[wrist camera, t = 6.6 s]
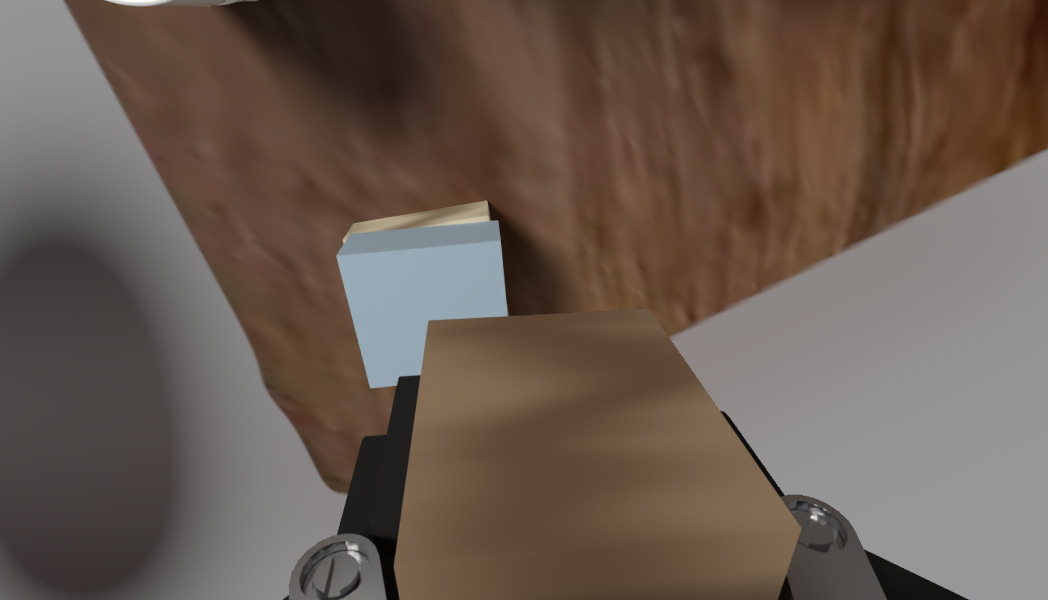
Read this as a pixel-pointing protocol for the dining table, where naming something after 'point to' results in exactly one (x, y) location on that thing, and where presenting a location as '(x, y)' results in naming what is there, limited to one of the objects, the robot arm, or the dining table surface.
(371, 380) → the tower top block
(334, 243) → the dining table surface
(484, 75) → the dining table surface
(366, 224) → the tower base block
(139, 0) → the white cup
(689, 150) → the dining table surface
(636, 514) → the walnut block
